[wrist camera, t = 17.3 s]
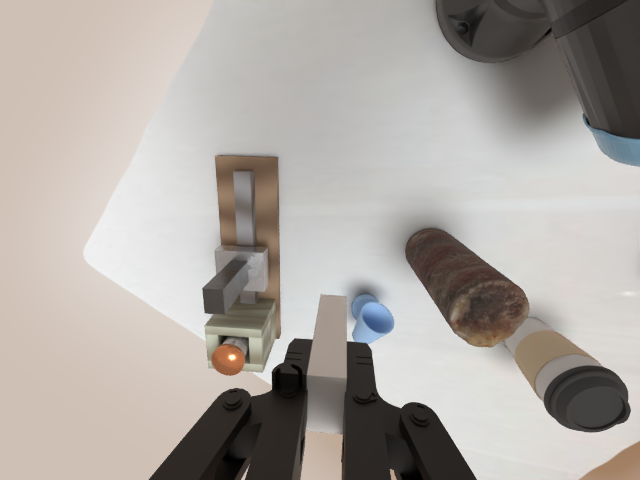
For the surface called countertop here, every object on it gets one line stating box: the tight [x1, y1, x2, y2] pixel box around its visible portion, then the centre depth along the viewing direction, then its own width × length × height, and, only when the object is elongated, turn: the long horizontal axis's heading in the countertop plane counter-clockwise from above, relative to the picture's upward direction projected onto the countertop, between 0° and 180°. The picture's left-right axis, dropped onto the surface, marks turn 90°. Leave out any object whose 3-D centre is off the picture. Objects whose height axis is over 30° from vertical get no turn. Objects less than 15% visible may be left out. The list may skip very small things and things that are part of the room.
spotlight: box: [352, 294, 394, 345], centre depth 45 cm, size 5×10×7 cm
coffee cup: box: [504, 318, 631, 432], centre depth 42 cm, size 9×9×15 cm
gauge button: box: [211, 336, 249, 376], centre depth 44 cm, size 4×4×8 cm
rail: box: [205, 156, 281, 372], centre depth 44 cm, size 30×9×10 cm, turn 179°
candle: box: [406, 229, 530, 347], centre depth 37 cm, size 8×7×20 cm
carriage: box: [202, 245, 269, 315], centre depth 40 cm, size 6×7×12 cm
